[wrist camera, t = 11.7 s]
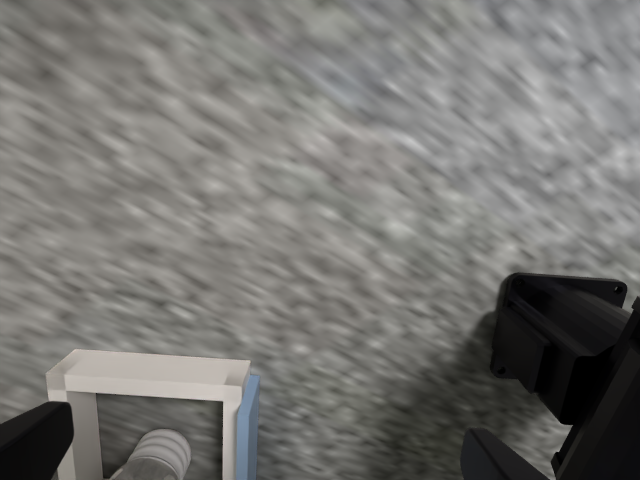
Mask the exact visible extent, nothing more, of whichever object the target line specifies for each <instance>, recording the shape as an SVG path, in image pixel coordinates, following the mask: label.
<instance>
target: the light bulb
mask: <svg viewBox="0 0 640 480" xmlns="http://www.w3.org/2000/svg"><path fill="white" fill-rule="evenodd" d="M190 461H191V448H190V445H189V443H188V442H187V440H186V439H185V438H184V436H183V435H182V434H181V433H179V432H178V431H176V430H172V429H157V430H153V431H150V432H148V433H147V434H145V435H144V436H143V437H142V438H141V440H140V441H139V443H138V445H137V446H136V448H135V449H134V451H133V453H132V454H131V456H130V457H129V459H128V461H127V463H125V464H124V465H122V466H121V467H120V468H119V469H118V470H117V471H116V472H115V473H114V474H113V475H112V476H111V477H110V478H109V480H183V478H184V475H185V473H186V471H187V468H188V466H189V464H190Z"/></svg>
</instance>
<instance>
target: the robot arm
mask: <svg viewBox="0 0 640 480" xmlns="http://www.w3.org/2000/svg"><path fill="white" fill-rule="evenodd" d="M519 279H521V283H520V284H519V285H516V282H517V281H518V280H519ZM615 287H617V289H616V290H615V291H614V288H615ZM626 293H627V285H626V284H625V283H623V282H621V281H619V280H616V279H603V278H589V277H575V276H560V275H546V274H532V273H514V274H512V275H511V276H510V277H509V279H508V283H507V288H506V292H505V297H504V302H503V307H502V308H501V309H500V310H499V314H498V319H497V324H496V329H495V333H494V338H493V343H492V349H493V355H492V360H491V364H490V370H491V372H492V373H493V374H494V375H495V376H496V377H498V378H508V379H518V380H519V381H520V382H521V384H522V385H523V386H524V387H525V388H526V390H527V391H528V392H529V393H530V394H536V395H537V396H538V397H539V398H540V400H541V401H542V402H543V403H544V404H545V405H546V407H547V408H548V409H549V410H550V411H551V412H552V414H553V415H554V416H555V417H556V418H557V419H558V421H559V422H560V423H561V424H564V425H573V426H572V428H571V430H570V432H569V434H568V436H567V438H566V440H565V442H564V443H563V445H562V447H561V449H560V451H559V452H556V453H555V454H554V456H553V458H552V460H551V465H552V468H553V471H554V474H555V477H556V480H640V296H637V298H636V300H635V301H634V303H633V305H632V307H631V308H633V309H634V310H633V312H632V314H631V313H629V312H627V311H625V310H624V309H622V307H623V303H624V300H625V296H626ZM499 367H502V369H501V370H498V368H499ZM73 438H74V424H73V415H72V407H71V405H70V403H68V402H63V401H49V402H46V403H44V404H42V405H40V406H38V407H36V408H34V409H32V410H29V411H27V412H25V413H23V414H21V415H19V416H17V417H15V418H13V419H10V420H8V421H6V422H4V423H2V424H0V480H51V479H52V477H53V475H54V474H55V472H56V470H57V468H58V467H59V465H60V463H61V461H62V460H63V458H64V456H65V454H66V453H67V451H68V449H69V447H70V446H71V443H72V441H73ZM460 465H461V470H462V474H463V478H464V480H550V479H548V478H547V477H546V476H545V475H543V474H542V473H541V472H540V471H538V470H537V469H536V468H535V467H533V466H532V465H531V464H530V463H528V462H527V461H526V460H525V459H523V458H522V457H521V456H520V455H518V454H517V453H516V452H515V451H513V450H512V449H511V448H510V447H508V446H507V445H506V444H504V443H503V442H502V441H501V440H499V439H498V438H497V437H496V436H494V435H493V434H492V433H491V432H489V431H488V430H487V429H484V428H468V429H467V430H466V432H465V436H464V441H463V446H462V451H461V456H460Z"/></svg>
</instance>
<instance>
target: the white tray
mask: <svg viewBox="0 0 640 480" xmlns="http://www.w3.org/2000/svg"><path fill="white" fill-rule="evenodd" d="M46 381H47V389H48V397H49V401H63V402H68V403H70V405H71V407H72V415H73V424H74V438H73V441H72V443H71V446H70V447H69V449H68V451H67V453H66V454H65V456H64V458H63V460H62V461H61V463H60V465H59V467H58V468H57V469H58V477H59V480H109V479H105V478H103V470H102V458H101V447H100V436H99V424H98V413H97V402H96V393H108V394H123V395H138V396H153V397H168V398H184V399H199V400H214V401H223V480H256V467H257V440H258V412H259V385H260V376H256V375H250V361H248V360H233V359H218V358H203V357H188V356H173V355H158V354H143V353H128V352H113V351H99V350H84V349H75V350H73V351H72V352H71V353H70V354H69V355H67V356H66V357H65V358H64V359H63V360H61V361H60V362H59V363H58V364H56V365H55V366H54V367H53V368H52V369H50V370H49V371H48V372H47V373H46Z"/></svg>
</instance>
